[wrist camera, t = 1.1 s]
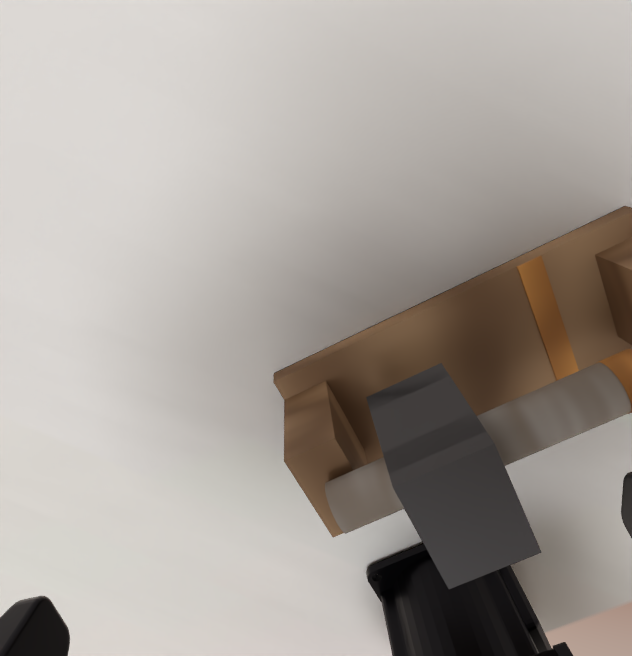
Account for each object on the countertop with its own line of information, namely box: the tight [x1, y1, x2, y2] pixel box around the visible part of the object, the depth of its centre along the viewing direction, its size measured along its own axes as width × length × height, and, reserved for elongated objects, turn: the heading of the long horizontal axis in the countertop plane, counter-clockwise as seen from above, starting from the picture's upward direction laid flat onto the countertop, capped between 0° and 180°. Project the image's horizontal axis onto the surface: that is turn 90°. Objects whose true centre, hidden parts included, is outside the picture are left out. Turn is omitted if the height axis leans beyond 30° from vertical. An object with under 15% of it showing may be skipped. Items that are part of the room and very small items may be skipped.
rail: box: [274, 206, 632, 537], centre depth 19 cm, size 16×6×7 cm, turn 116°
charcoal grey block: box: [366, 363, 541, 589], centre depth 17 cm, size 3×4×5 cm
